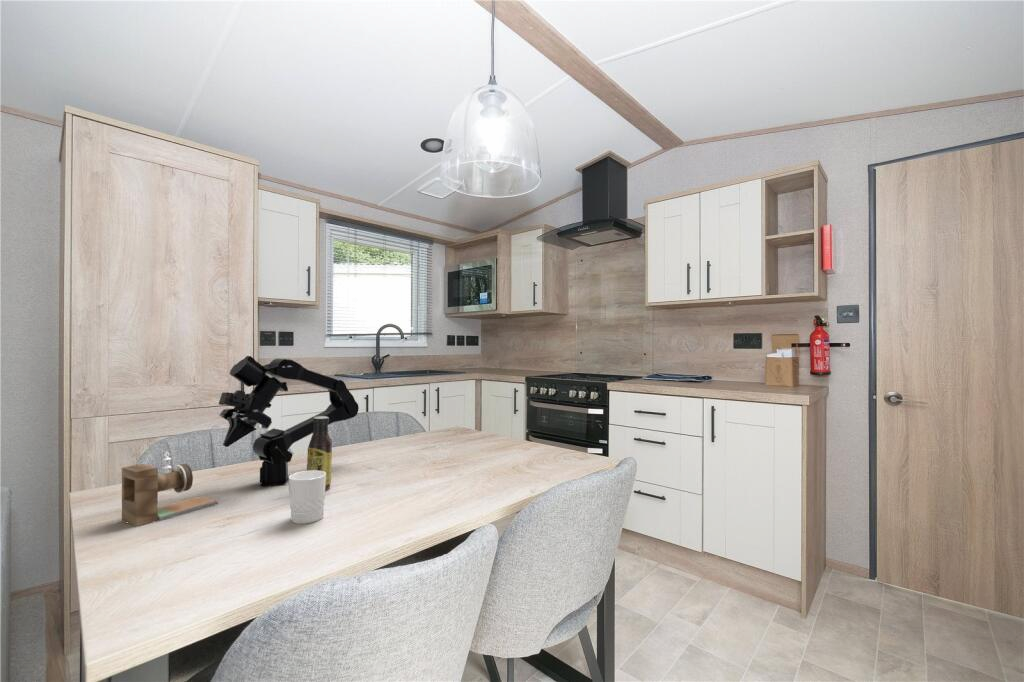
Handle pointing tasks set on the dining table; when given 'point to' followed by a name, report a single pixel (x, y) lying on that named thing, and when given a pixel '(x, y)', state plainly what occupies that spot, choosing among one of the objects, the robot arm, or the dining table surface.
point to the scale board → (184, 507)
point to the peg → (176, 479)
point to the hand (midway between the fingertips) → (224, 446)
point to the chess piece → (166, 462)
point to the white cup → (307, 496)
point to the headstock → (139, 494)
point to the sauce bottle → (320, 449)
